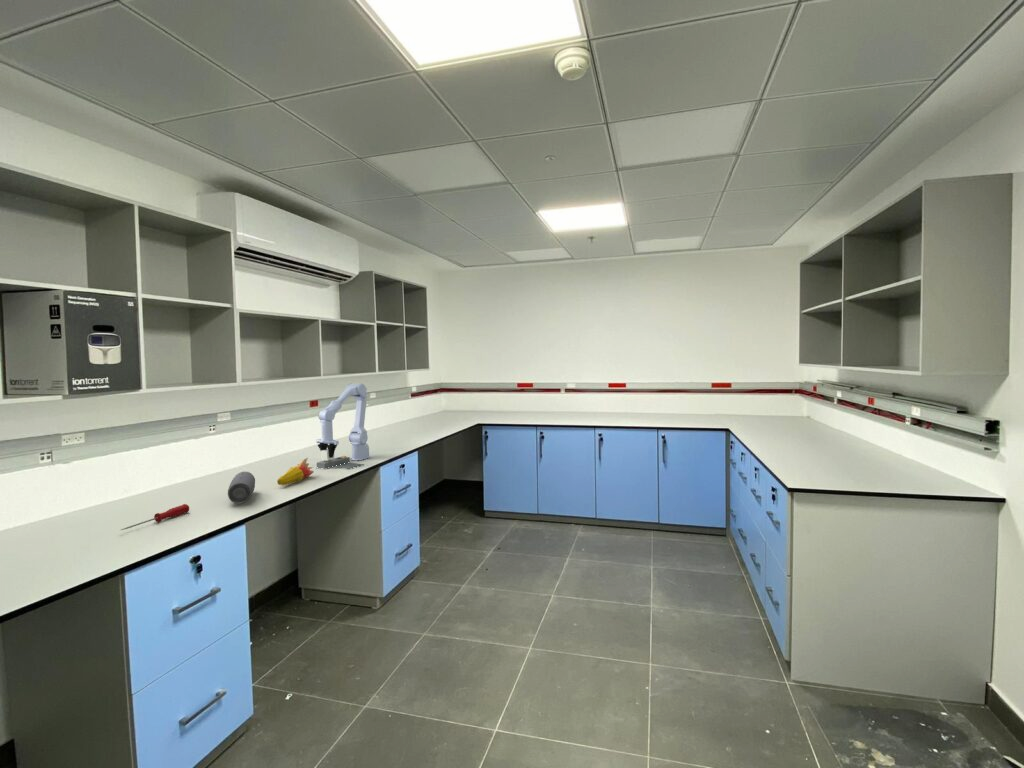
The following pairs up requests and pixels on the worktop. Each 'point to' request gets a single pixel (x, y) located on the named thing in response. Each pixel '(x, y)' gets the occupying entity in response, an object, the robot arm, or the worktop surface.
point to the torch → (296, 473)
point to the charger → (326, 455)
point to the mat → (348, 465)
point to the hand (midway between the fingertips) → (327, 457)
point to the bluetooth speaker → (241, 487)
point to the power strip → (333, 462)
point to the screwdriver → (166, 514)
